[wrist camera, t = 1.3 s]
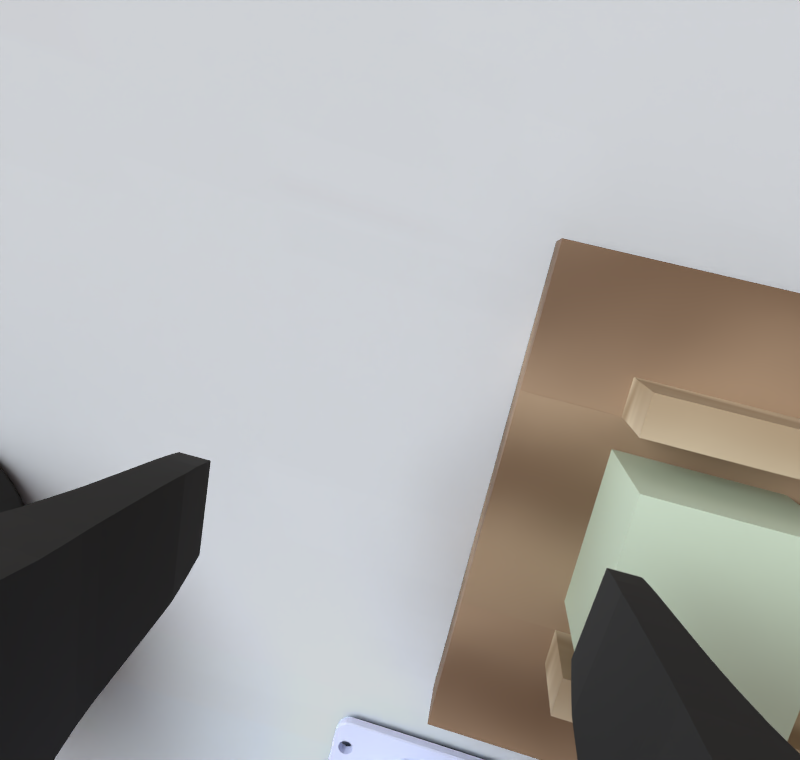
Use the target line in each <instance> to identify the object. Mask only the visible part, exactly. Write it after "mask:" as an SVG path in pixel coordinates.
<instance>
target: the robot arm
mask: <svg viewBox="0 0 800 760" xmlns="http://www.w3.org/2000/svg"><path fill="white" fill-rule="evenodd" d="M209 469H210V461H209V460H206V459H202V458H198V457H194V456H191V455H187V454H183V453H180V452H178V453H175V454H171V455H168V456H165V457H162V458H159V459H156V460H153V461H151V462H148V463H145V464H142V465H140V466H137V467H135V468H132V469H129V470H127V471H124V472H121V473H119V474H116V475H113V476H110V477H108V478H105V479H102V480H100V481H97V482H94V483H91V484H89V485H86V486H83V487H80V488H78V489H74V490H71V491H68V492H65V493H62V494H59V495H56V496H53V497H50V498H47V499H44V500H41V501H37V502H34V503H31V504H28V505H25V506H22V507H18V508H15V509H12V510H8V511H4V512H1V513H0V760H54V759H55V757H56V756H57V754H58V752H59V751H60V749H61V748H62V746H63V745H64V743H65V742H66V740H67V738H68V737H69V735H70V734H71V732H72V731H73V729H74V728H75V726H76V725H77V724H78V722H79V721H80V719H81V718H82V717H83V715H84V714H85V712H86V711H87V710H88V708H89V707H90V706H91V704H92V703H93V702H94V700H95V699H96V698H97V696H98V695H99V694H100V693H101V691H102V690H103V689H104V688H105V686H106V685H107V684H108V683H109V681H110V680H111V679H112V677H113V676H114V675H115V674H116V672H117V671H118V670H119V669H120V667H121V666H122V665H123V663H124V662H125V661H126V660H127V658H128V657H129V656H130V655H131V653H132V652H133V651H134V650H135V648H136V647H137V646H138V644H139V643H140V642H141V641H142V639H143V638H144V637H145V636H146V634H147V633H148V632H149V630H150V629H151V628H152V627H153V625H154V624H155V623H156V621H157V620H158V619H159V617H160V616H161V615H162V614H163V612H164V611H165V610H166V608H167V607H168V606H169V604H170V603H171V602H172V600H173V599H174V597H175V595H176V594H177V592H178V590H179V589H180V587H181V586H182V584H183V582H184V581H185V579H186V577H187V575H188V574H189V572H190V570H191V568H192V567H193V565H194V563H195V561H196V560H197V558H198V556H199V554H200V545H201V537H202V528H203V520H204V511H205V503H206V495H207V486H208V478H209ZM571 707H572V722H573V730H574V738H575V745H576V752H577V760H800V753H799V752H798V751H797V750H796V749H794V748H793V747H792V746H791V745H790V744H789V743H788V742H787V741H786V740H785V739H784V738H783V737H782V736H781V735H780V734H779V733H778V732H777V731H776V730H775V729H774V728H773V727H772V726H771V725H770V724H769V723H768V722H767V721H766V720H765V718H764V717H763V716H762V715H761V714H760V713H759V712H758V711H757V710H756V709H755V708H754V707H753V706H752V705H751V703H750V702H749V701H748V700H747V699H746V698H745V697H744V696H743V695H742V694H741V693H740V692H739V691H738V689H737V688H736V687H735V686H734V685H733V684H732V683H731V682H730V680H729V679H728V678H727V677H726V676H725V675H724V674H723V673H722V671H721V670H720V669H719V668H718V667H717V666H716V664H715V663H714V662H713V661H712V660H711V659H710V657H709V656H708V655H707V654H706V653H705V651H704V650H703V649H702V648H701V647H700V646H699V644H698V643H697V642H696V641H695V639H694V638H693V637H692V636H691V635H690V633H689V632H688V631H687V630H686V629H685V627H684V626H683V625H682V624H681V622H680V621H679V620H678V619H677V618H676V616H675V615H674V614H673V613H672V611H671V610H670V609H669V608H668V607H667V605H666V604H665V603H664V602H663V600H662V599H661V598H660V597H659V596H658V594H657V593H656V592H655V591H654V590H653V589H652V587H651V586H650V585H649V584H648V583H647V582H646V581H645V580H644V579H643V578H642V577H639V576H635V575H632V574H628V573H624V572H621V571H617V570H613V569H609V568H606V571H605V574H604V576H603V579H602V581H601V584H600V586H599V589H598V592H597V594H596V597H595V599H594V602H593V605H592V607H591V610H590V612H589V615H588V617H587V620H586V623H585V625H584V628H583V630H582V633H581V635H580V638H579V641H578V643H577V646H576V648H575V651H574V653H573V656H572V659H571ZM342 741H347V742H349V743H350V744H351V745H352V746H345V745H344V744H343V743H342ZM328 760H484V759H481V758H478V757H475V756H472V755H468V754H465V753H462V752H459V751H456V750H453V749H450V748H447V747H444V746H440V745H437V744H434V743H431V742H428V741H425V740H422V739H419V738H416V737H412V736H409V735H406V734H403V733H400V732H397V731H394V730H391V729H388V728H385V727H381V726H378V725H375V724H372V723H369V722H366V721H363V720H360V719H357V718H353V717H345V718H343V719H341V720H340V721H339V723H338V725H337V728H336V730H335V735H334V739H333V743H332V747H331V751H330V755H329V759H328Z"/></svg>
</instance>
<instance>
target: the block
mask: <svg viewBox="0 0 800 760" xmlns="http://www.w3.org/2000/svg"><path fill="white" fill-rule="evenodd" d="M606 568H609V569H613V570H617V571H621V572H624V573H628V574H632V575H635V576H639V577H642V578H643V579H644V580H645V581H646V582H647V583H648V584H649V585H650V586H651V587H652V589H653V590H654V591H655V592H656V593H657V594H658V596H659V597H660V598H661V599H662V600H663V602H664V603H665V604H666V605H667V607H668V608H669V609H670V610H671V611H672V613H673V614H674V615H675V616H676V618H677V619H678V620H679V621H680V622H681V624H682V625H683V626H684V627H685V629H686V630H687V631H688V632H689V633H690V635H691V636H692V637H693V638H694V639H695V641H696V642H697V643H698V644H699V646H700V647H701V648H702V649H703V650H704V651H705V653H706V654H707V655H708V656H709V657H710V659H711V660H712V661H713V662H714V663H715V664H716V666H717V667H718V668H719V669H720V670H721V671H722V673H723V674H724V675H725V676H726V677H727V678H728V679H729V680H730V682H731V683H732V684H733V685H734V686H735V687H736V688H737V689H738V691H739V692H740V693H741V694H742V695H743V696H744V697H745V698H746V699H747V700H748V701H749V702H750V703H751V705H752V706H753V707H754V708H755V709H756V710H757V711H758V712H759V713H760V714H761V715H762V716H763V717H764V718H765V720H766V721H767V722H768V723H769V724H770V725H771V726H772V727H773V728H774V729H775V730H776V731H777V732H778V733H779V734H780V735H781V736H782V737H783V738H784V739H785V740H786V741H788V738H789V736H790V733H791V731H792V728H793V726H794V723H795V721H796V718H797V716H798V714H799V711H800V505H799V504H797V503H796V502H795V501H794V500H792V499H791V498H790V497H788V496H787V495H784V494H780V493H776V492H772V491H768V490H765V489H761V488H757V487H753V486H750V485H746V484H742V483H738V482H734V481H731V480H727V479H723V478H719V477H716V476H712V475H708V474H704V473H700V472H697V471H693V470H689V469H685V468H681V467H678V466H674V465H670V464H666V463H663V462H659V461H655V460H651V459H647V458H644V457H640V456H636V455H632V454H628V453H625V452H621V451H617V450H613V449H612V450H611V453H610V456H609V459H608V463H607V466H606V469H605V472H604V475H603V479H602V482H601V485H600V488H599V492H598V495H597V498H596V501H595V504H594V508H593V511H592V514H591V517H590V521H589V524H588V527H587V530H586V533H585V537H584V540H583V543H582V546H581V550H580V553H579V556H578V559H577V562H576V566H575V569H574V572H573V575H572V578H571V582H570V585H569V588H568V591H567V595H566V598H565V601H564V602H565V607H566V612H567V617H568V622H569V628H570V633H571V638H572V643H573V648H574V651H575V648H576V646H577V643H578V641H579V638H580V635H581V633H582V630H583V628H584V625H585V623H586V620H587V617H588V615H589V612H590V610H591V607H592V605H593V602H594V599H595V597H596V594H597V592H598V589H599V586H600V584H601V581H602V579H603V576H604V574H605V571H606Z"/></svg>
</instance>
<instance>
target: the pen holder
mask: <svg viewBox="0 0 800 760" xmlns="http://www.w3.org/2000/svg"><path fill="white" fill-rule="evenodd" d="M22 506H24V505H23V503H22V500H21V498H20V496H19V494H18V492H17V491H16V489H15V487H14V486H13V484H12V482H11V481H10V480H9V478H8V477H7V476H6V474H5V473H4V472H3V470H2V469H1V468H0V513H1V512H4V511H8V510H12V509H15V508H18V507H22Z"/></svg>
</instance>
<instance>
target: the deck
mask: <svg viewBox="0 0 800 760" xmlns="http://www.w3.org/2000/svg"><path fill="white" fill-rule="evenodd" d="M612 449H613V450H617V451H621V452H625V453H628V454H632V455H636V456H640V457H644V458H647V459H651V460H655V461H659V462H663V463H666V464H670V465H674V466H678V467H681V468H685V469H689V470H693V471H697V472H700V473H704V474H708V475H712V476H716V477H719V478H723V479H727V480H731V481H734V482H738V483H742V484H746V485H750V486H753V487H757V488H761V489H765V490H768V491H772V492H776V493H780V494H784V495H787V496H788V497H790V498H791V499H792V500H794V501H795V502H796V503H797V504H799V505H800V293H796V292H792V291H787V290H783V289H779V288H774V287H770V286H766V285H761V284H757V283H753V282H748V281H744V280H740V279H735V278H731V277H727V276H722V275H718V274H714V273H710V272H705V271H701V270H697V269H692V268H688V267H684V266H679V265H675V264H671V263H666V262H662V261H658V260H653V259H649V258H645V257H640V256H636V255H632V254H628V253H623V252H619V251H615V250H610V249H606V248H602V247H597V246H593V245H589V244H584V243H580V242H576V241H571V240H567V239H563V238H562V239H560V240H558V241H557V242H556V245H555V248H554V252H553V256H552V259H551V263H550V267H549V270H548V274H547V277H546V281H545V285H544V288H543V292H542V296H541V299H540V303H539V306H538V310H537V314H536V317H535V321H534V325H533V328H532V332H531V335H530V339H529V343H528V346H527V350H526V354H525V357H524V361H523V364H522V368H521V372H520V375H519V379H518V383H517V386H516V390H515V393H514V397H513V401H512V404H511V408H510V412H509V415H508V419H507V422H506V426H505V430H504V433H503V437H502V441H501V444H500V448H499V451H498V455H497V459H496V462H495V466H494V470H493V473H492V477H491V480H490V484H489V488H488V491H487V495H486V499H485V502H484V506H483V509H482V513H481V517H480V520H479V524H478V528H477V531H476V535H475V538H474V542H473V546H472V549H471V553H470V557H469V560H468V564H467V567H466V571H465V575H464V578H463V582H462V586H461V589H460V593H459V597H458V600H457V604H456V607H455V611H454V615H453V618H452V622H451V626H450V629H449V633H448V636H447V640H446V644H445V647H444V651H443V655H442V658H441V662H440V665H439V669H438V673H437V676H436V680H435V684H434V688H433V694H432V700H431V706H430V712H429V718H428V724H429V725H433V726H436V727H439V728H442V729H445V730H448V731H451V732H455V733H458V734H461V735H464V736H467V737H470V738H473V739H476V740H480V741H483V742H486V743H489V744H492V745H495V746H498V747H502V748H505V749H508V750H511V751H514V752H517V753H520V754H524V755H527V756H530V757H533V758H536V759H539V760H577V752H576V745H575V738H574V730H573V722H572V707H571V659H572V656H573V653H574V648H573V643H572V638H571V633H570V628H569V622H568V617H567V612H566V607H565V602H564V601H565V598H566V595H567V591H568V588H569V585H570V582H571V578H572V575H573V572H574V569H575V566H576V562H577V559H578V556H579V553H580V550H581V546H582V543H583V540H584V537H585V533H586V530H587V527H588V524H589V521H590V517H591V514H592V511H593V508H594V504H595V501H596V498H597V495H598V492H599V488H600V485H601V482H602V479H603V475H604V472H605V469H606V466H607V463H608V459H609V456H610V453H611V450H612ZM787 742H788V743H789V744H790V745H791V746H792V747H793V748H794V749H796V750H797V751H798V752H799V753H800V711H799V714H798V716H797V718H796V721H795V723H794V726H793V728H792V731H791V733H790V736H789V738H788V741H787Z"/></svg>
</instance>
